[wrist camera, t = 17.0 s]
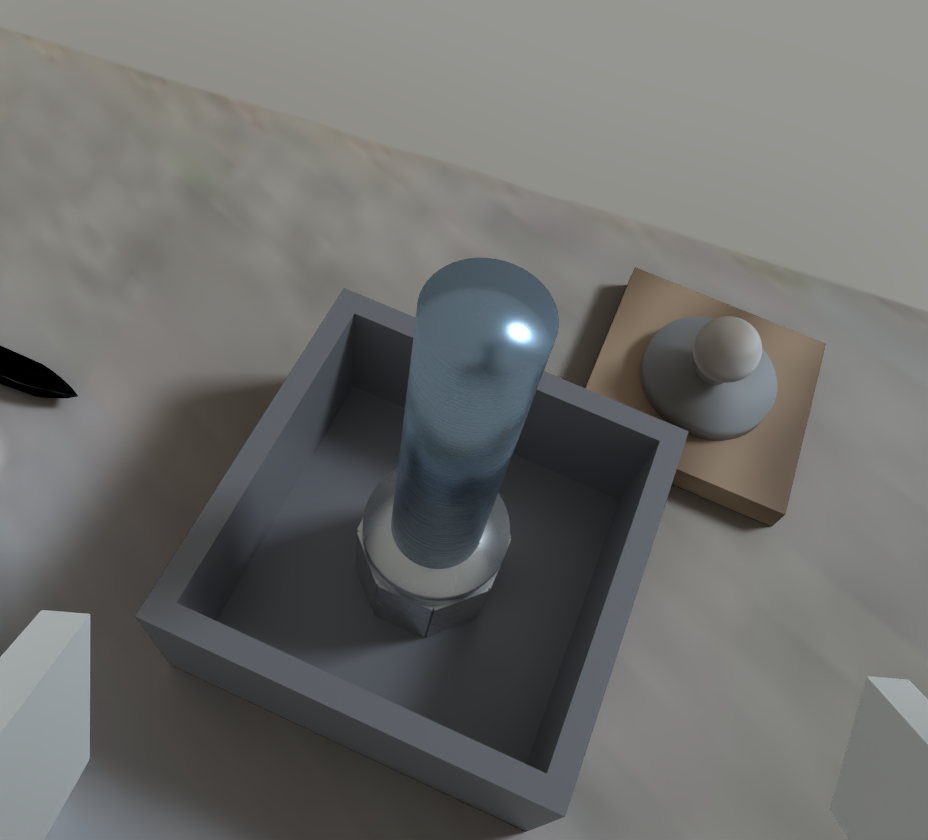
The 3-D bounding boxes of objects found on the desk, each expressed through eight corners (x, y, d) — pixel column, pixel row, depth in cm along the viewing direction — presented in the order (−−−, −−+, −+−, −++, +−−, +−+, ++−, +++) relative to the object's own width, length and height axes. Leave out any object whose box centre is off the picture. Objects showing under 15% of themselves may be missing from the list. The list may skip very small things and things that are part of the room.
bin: (639, 499, 42) (688, 431, 36) (525, 831, 34) (564, 816, 28) (343, 373, 44) (343, 287, 38) (170, 664, 36) (135, 616, 30)
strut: (510, 538, 39) (629, 276, 23) (461, 655, 36) (557, 451, 20) (394, 488, 40) (429, 196, 23) (337, 599, 37) (331, 356, 20)
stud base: (812, 358, 48) (871, 291, 42) (771, 526, 42) (832, 472, 37) (627, 284, 49) (661, 209, 43) (564, 438, 43) (594, 374, 38)
